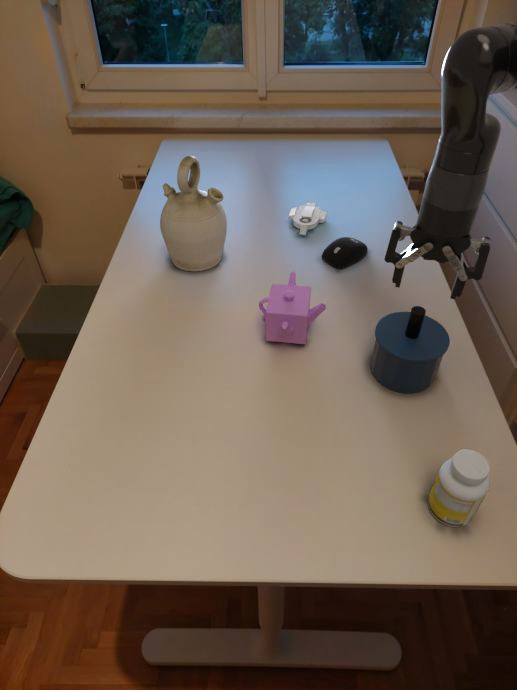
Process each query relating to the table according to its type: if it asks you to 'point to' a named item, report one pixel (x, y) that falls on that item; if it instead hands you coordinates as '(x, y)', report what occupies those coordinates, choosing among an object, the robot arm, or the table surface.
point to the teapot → (289, 312)
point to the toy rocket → (307, 217)
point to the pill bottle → (459, 488)
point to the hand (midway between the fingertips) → (425, 290)
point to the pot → (402, 372)
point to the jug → (193, 221)
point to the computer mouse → (344, 252)
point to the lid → (412, 336)
